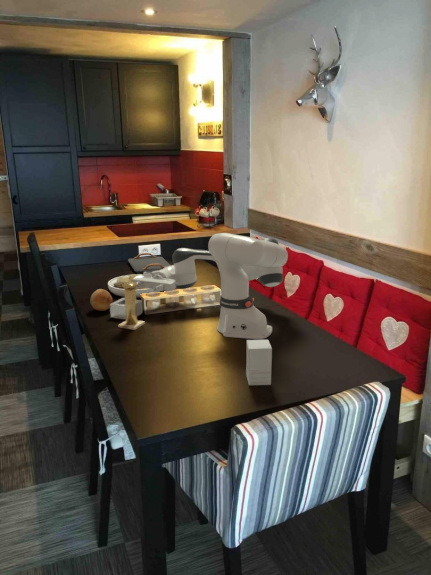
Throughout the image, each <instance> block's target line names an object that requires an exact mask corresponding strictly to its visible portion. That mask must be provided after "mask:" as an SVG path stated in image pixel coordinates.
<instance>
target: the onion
mask: <svg viewBox="0 0 431 575" xmlns="http://www.w3.org/2000/svg"><path fill="white" fill-rule="evenodd" d="M89 301H90V305H91V307H92V308H93V309H94V310H96V311H100V312H105V311H107V310H108V309H110V304H111V303H113V297H112V295H111V292H109V291H107V290H106V289H105V288H104V289H102V288H99V289H96V290H95V291H94V292H93V293H92V294H91V296H90V300H89Z"/></svg>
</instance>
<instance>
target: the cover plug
mask: <svg viewBox="0 0 431 575" xmlns="http://www.w3.org/2000/svg"><path fill="white" fill-rule="evenodd" d="M122 287H123V288H124V293H125V297H124V298H125V311H126V320H125V321H126V324H127V325H135V324H137V320H138V316H137V305H136V300H137V297H136V287H137V283H135V282H126V283H123V284H122Z"/></svg>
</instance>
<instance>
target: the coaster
mask: <svg viewBox="0 0 431 575" xmlns="http://www.w3.org/2000/svg"><path fill="white" fill-rule="evenodd" d="M145 324H146V321H145V320H144V321H143V320H138V319H137V324H135V325H127V324H126V320H125V321H122V322H121V323H119V324H117V327H118V328H121V329H126V330H133V331H136V330H137V329H139V328H141V327H142V326H144V325H145Z"/></svg>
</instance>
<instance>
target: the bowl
mask: <svg viewBox="0 0 431 575" xmlns="http://www.w3.org/2000/svg"><path fill="white" fill-rule="evenodd" d="M141 274H142V273H141ZM141 274H135V273H132V274H127V275H125V274H124V275H121V276H117V277H114V278H112V279H110V280H108V281H107V288H108V290H109V291H110V293H112V294H113V295H116V296H118V297H122V298H125V293H124V288H123V287H122V284H123V283H126V282H132V279H133V278H134V277H136V276H138V275H141ZM160 291H162V292H164V290H158V291H154V289H149V288H141V287H140V288H138V289H136V298H141V297H140V294H142V293H149V292H160ZM160 293H161V292H160Z"/></svg>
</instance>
